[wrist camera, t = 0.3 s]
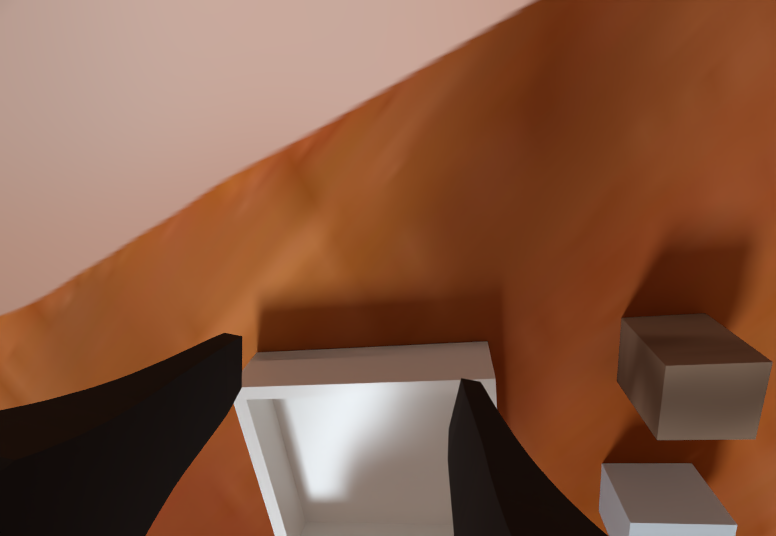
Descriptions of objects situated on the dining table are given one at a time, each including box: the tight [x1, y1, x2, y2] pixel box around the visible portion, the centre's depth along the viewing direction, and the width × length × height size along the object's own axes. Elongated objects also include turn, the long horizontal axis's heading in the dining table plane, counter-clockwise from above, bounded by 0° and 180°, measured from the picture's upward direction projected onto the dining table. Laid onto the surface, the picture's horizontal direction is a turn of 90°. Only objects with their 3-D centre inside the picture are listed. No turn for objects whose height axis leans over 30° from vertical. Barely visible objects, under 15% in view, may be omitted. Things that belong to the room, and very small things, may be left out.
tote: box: [234, 341, 497, 536], centre depth 24 cm, size 14×14×4 cm
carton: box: [599, 463, 737, 536], centre depth 23 cm, size 4×5×4 cm
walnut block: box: [617, 313, 772, 440], centre depth 19 cm, size 4×4×4 cm
